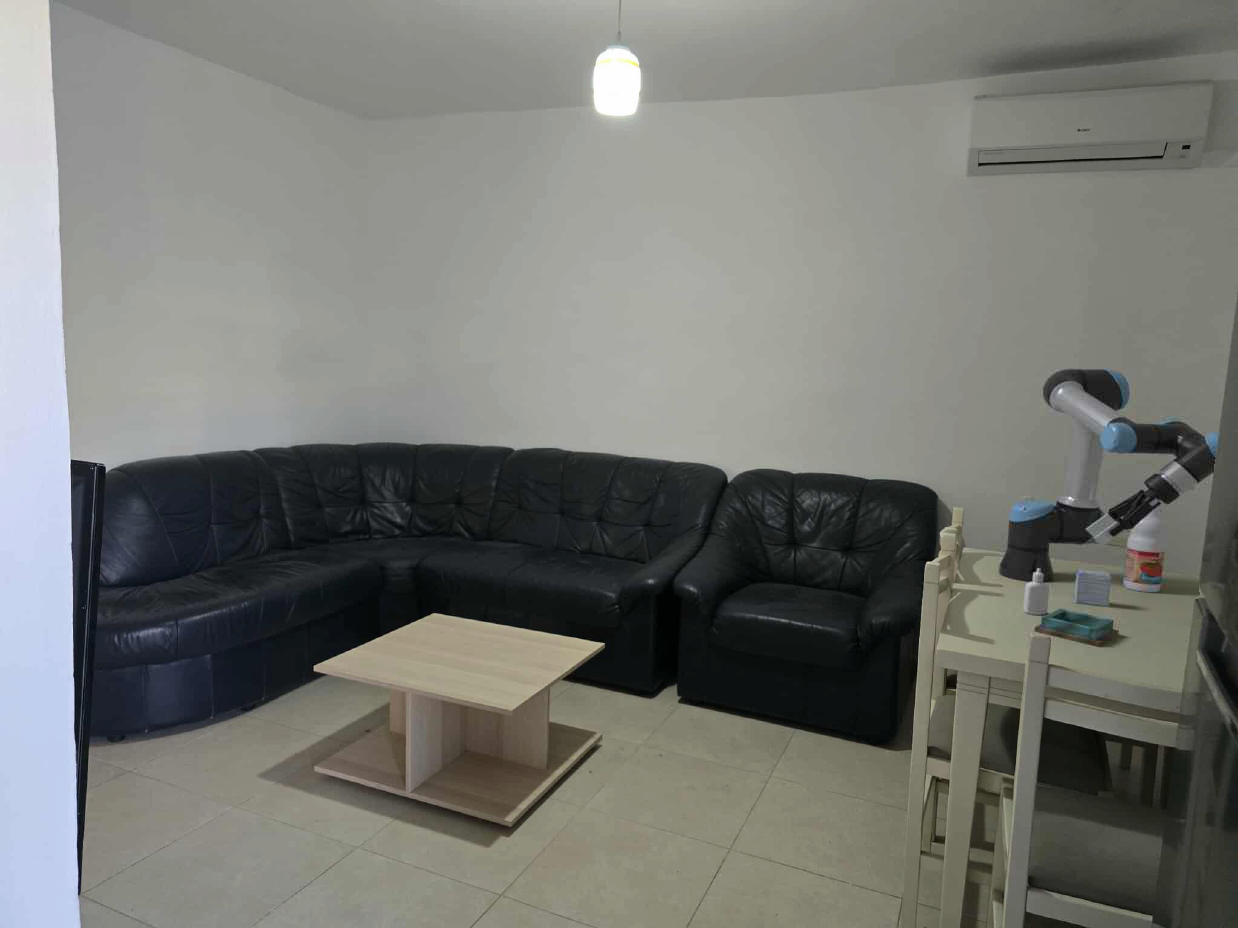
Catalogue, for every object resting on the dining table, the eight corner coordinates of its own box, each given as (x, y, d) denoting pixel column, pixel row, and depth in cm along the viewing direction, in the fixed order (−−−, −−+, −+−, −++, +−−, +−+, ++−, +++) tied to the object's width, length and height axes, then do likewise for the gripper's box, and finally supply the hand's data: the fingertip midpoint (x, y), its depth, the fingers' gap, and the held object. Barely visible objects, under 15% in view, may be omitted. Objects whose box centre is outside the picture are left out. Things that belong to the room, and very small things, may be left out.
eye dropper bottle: (1022, 609, 213) (1026, 565, 211) (1046, 612, 210) (1050, 568, 209) (1023, 613, 209) (1027, 568, 207) (1047, 616, 206) (1051, 571, 205)
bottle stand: (1034, 630, 194) (1035, 617, 194) (1056, 620, 204) (1057, 606, 203) (1098, 646, 184) (1099, 631, 184) (1118, 634, 193) (1119, 620, 193)
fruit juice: (1136, 583, 243) (1145, 492, 240) (1167, 591, 235) (1177, 497, 232) (1115, 585, 240) (1124, 493, 237) (1146, 594, 231) (1156, 498, 228)
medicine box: (1106, 603, 221) (1109, 572, 220) (1108, 607, 217) (1111, 576, 216) (1073, 599, 224) (1076, 569, 223) (1075, 603, 220) (1078, 572, 219)
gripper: (1194, 501, 184) (1113, 558, 191) (1168, 489, 206) (1097, 540, 214) (1169, 477, 185) (1089, 534, 192) (1146, 467, 208) (1076, 519, 215)
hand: (1093, 537), depth 203 cm, fingers open, 13 cm apart
